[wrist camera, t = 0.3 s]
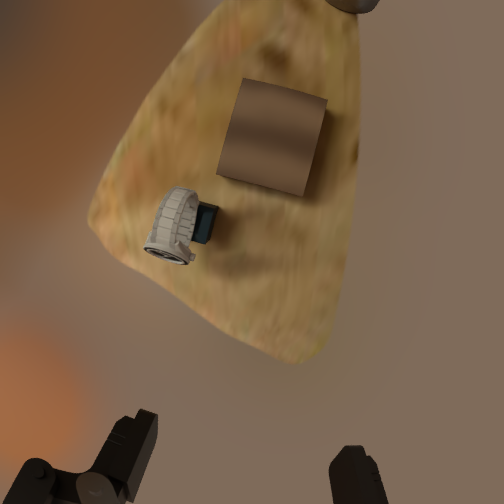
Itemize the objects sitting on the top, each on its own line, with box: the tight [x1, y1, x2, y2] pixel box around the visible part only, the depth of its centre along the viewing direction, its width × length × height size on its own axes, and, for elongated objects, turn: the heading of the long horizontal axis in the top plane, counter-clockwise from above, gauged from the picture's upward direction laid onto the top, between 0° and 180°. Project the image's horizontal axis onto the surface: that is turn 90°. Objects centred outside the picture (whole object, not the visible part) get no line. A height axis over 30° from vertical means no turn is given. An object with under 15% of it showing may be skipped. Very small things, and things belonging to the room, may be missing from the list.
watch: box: [143, 186, 218, 265], centre depth 29 cm, size 6×8×11 cm
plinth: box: [216, 78, 328, 197], centre depth 30 cm, size 12×10×3 cm
